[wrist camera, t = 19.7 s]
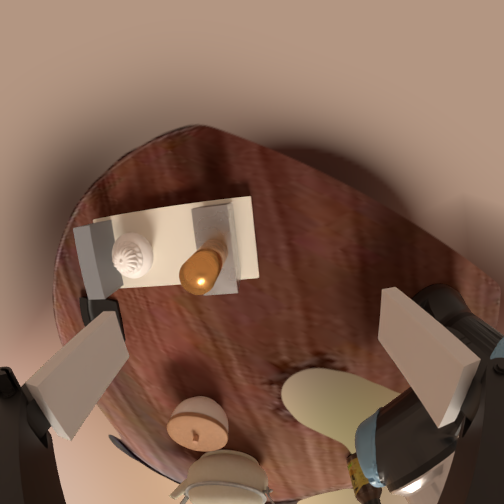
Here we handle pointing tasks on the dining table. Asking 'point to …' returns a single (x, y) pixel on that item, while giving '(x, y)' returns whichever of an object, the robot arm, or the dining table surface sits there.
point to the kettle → (224, 480)
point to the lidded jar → (199, 424)
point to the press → (156, 245)
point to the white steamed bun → (132, 255)
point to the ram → (213, 252)
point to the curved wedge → (99, 310)
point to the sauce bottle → (362, 483)
